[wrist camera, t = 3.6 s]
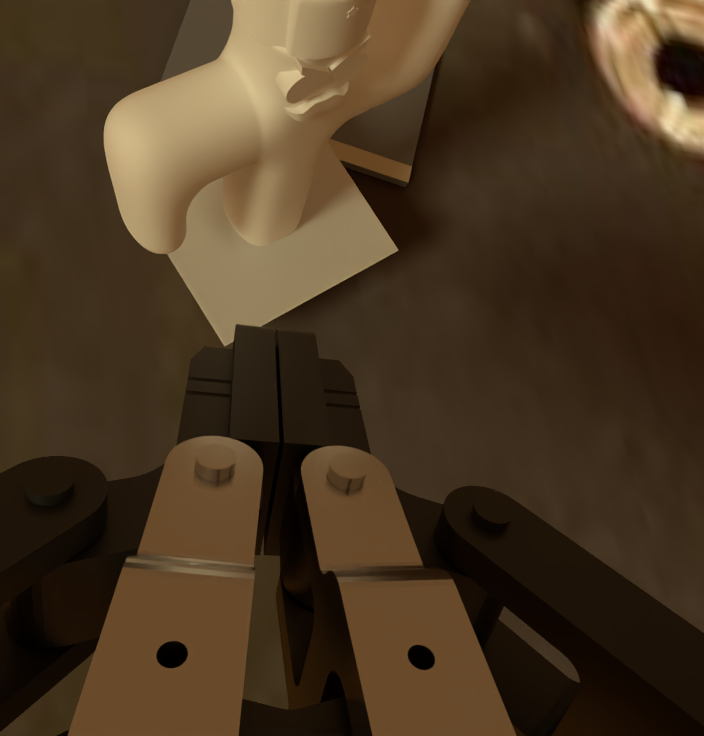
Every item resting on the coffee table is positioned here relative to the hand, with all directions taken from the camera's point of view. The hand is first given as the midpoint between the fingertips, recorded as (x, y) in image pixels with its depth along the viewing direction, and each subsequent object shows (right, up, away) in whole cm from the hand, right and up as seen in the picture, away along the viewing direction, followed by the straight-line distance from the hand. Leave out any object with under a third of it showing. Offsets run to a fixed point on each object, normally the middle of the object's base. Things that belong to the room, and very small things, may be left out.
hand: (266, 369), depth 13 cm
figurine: (-2, +5, +14) cm, 15 cm away
